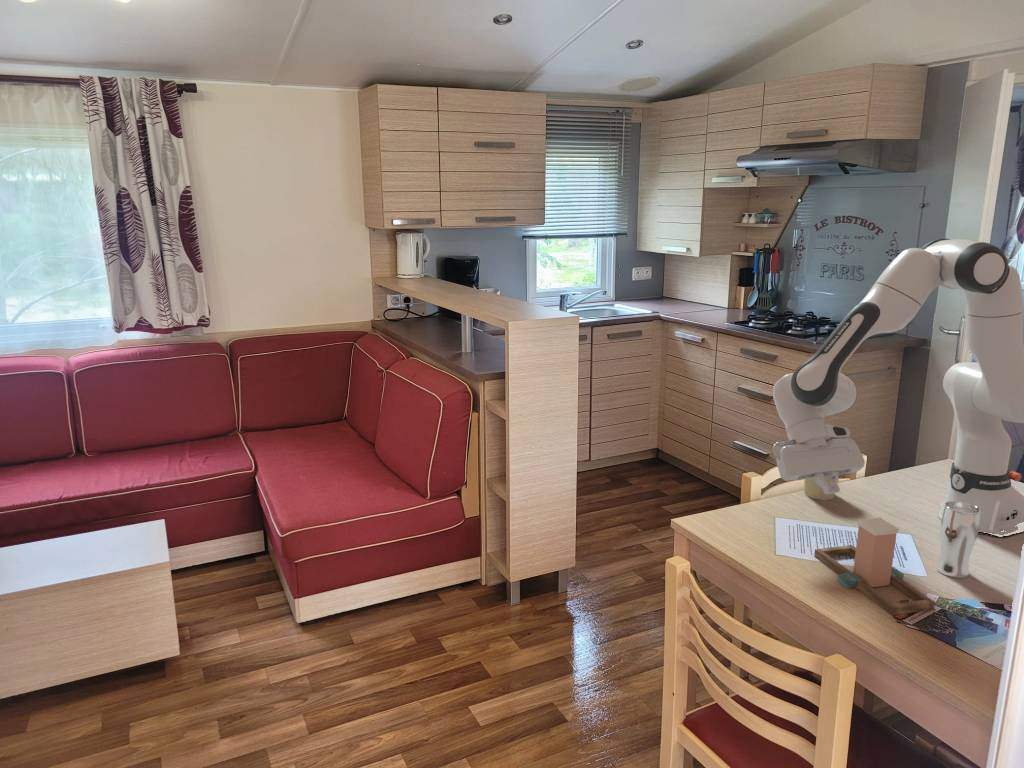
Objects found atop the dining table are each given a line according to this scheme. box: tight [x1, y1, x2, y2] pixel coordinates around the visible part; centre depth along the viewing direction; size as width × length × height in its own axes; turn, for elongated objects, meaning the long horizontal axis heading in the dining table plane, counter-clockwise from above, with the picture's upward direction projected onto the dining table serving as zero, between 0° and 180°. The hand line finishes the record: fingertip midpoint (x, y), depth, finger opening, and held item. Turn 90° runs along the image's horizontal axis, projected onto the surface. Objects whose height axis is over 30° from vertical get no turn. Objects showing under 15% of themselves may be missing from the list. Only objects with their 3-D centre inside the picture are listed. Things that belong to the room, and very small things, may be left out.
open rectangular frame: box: [813, 544, 936, 616], centre depth 157 cm, size 13×25×2 cm, turn 13°
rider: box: [852, 517, 899, 588], centre depth 155 cm, size 5×5×13 cm
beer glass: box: [935, 501, 981, 579], centre depth 159 cm, size 7×7×15 cm
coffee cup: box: [803, 474, 840, 501], centre depth 201 cm, size 9×9×12 cm
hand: (832, 492), depth 168 cm, fingers closed
